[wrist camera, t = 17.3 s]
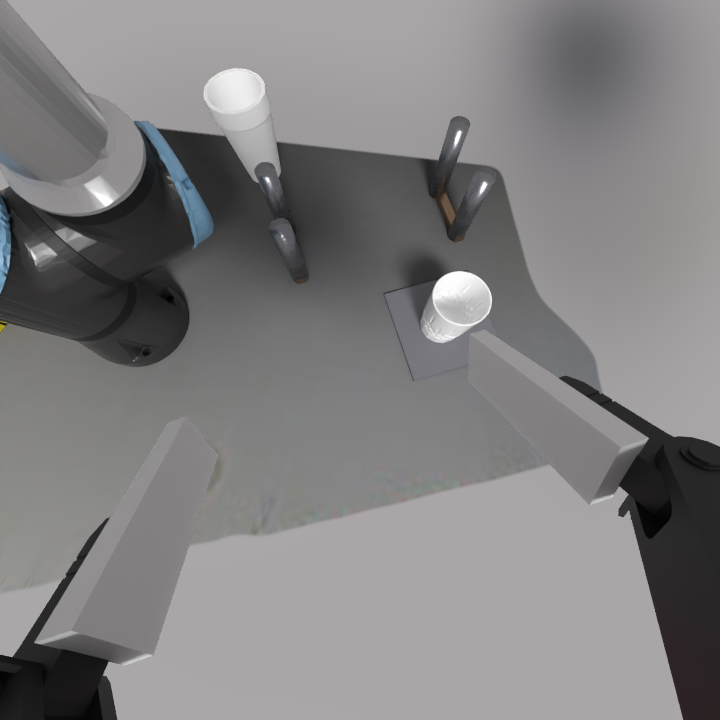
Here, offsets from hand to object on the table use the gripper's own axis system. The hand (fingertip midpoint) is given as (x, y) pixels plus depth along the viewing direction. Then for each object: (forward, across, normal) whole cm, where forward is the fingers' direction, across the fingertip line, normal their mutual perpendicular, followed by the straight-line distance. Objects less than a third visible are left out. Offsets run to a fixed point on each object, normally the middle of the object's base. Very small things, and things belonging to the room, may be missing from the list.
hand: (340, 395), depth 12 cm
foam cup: (+57, -4, +15) cm, 59 cm away
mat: (+28, +19, -14) cm, 36 cm away
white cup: (+28, +18, -14) cm, 36 cm away
